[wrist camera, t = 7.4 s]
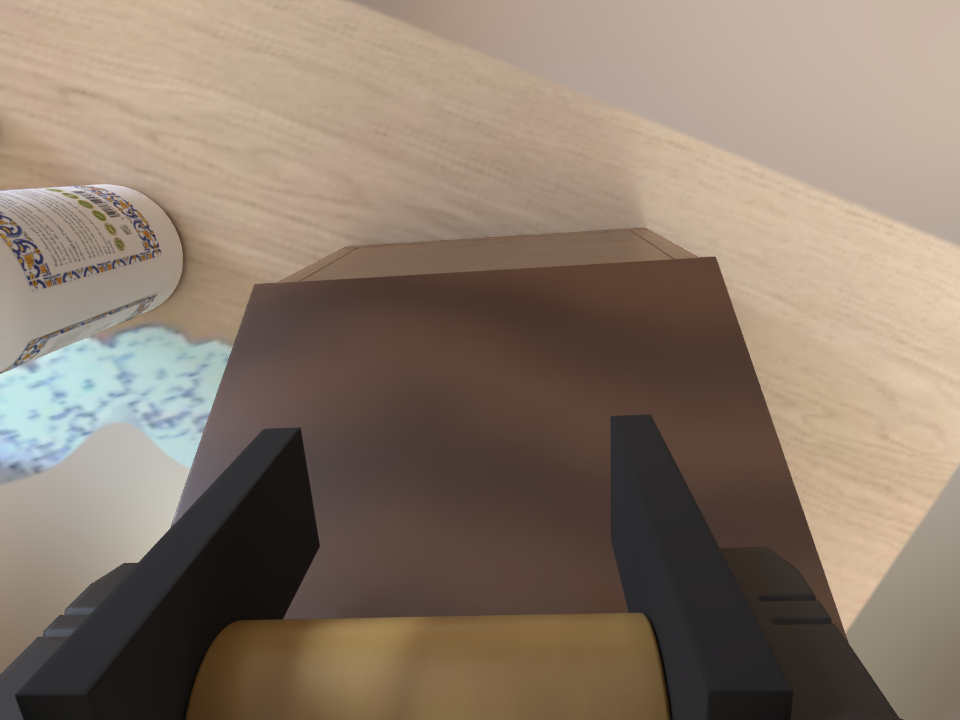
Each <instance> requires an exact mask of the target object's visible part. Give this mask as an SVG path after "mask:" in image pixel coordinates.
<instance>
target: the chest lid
mask: <svg viewBox="0 0 960 720" xmlns="http://www.w3.org/2000/svg"><path fill="white" fill-rule="evenodd" d="M647 414H651V416H652V418H653V420H654V422H655V423H656V425H657V427H658V429H659V431H660V433H661V435H662V437H663V439H664V441H665V443H666V445H667V447H668V449H669V451H670V453H671V455H672V456H673V458H674V460H675V462H676V464H677V466H678V468H679V470H680V472H681V474H682V476H683V478H684V480H685V482H686V484H687V486H688V487H689V489H690V491H691V493H692V495H693V497H694V499H695V501H696V503H697V505H698V507H699V509H700V511H701V513H702V515H703V517H704V518H705V520H706V522H707V524H708V526H709V528H710V530H711V532H712V534H713V536H714V538H715V540H716V542H717V544H718V546H719V548H742V547H769V548H770V549H771V550H773V551H774V552H776V553H777V554H778V555H780V556H781V557H782V558H784V559H785V560H786V561H788V562H789V563H791V564H792V565H793V566H795V567H796V568H797V569H798V570H799V571H800V573H801V574H802V576H803V577H804V579H805V580H806V582H807V583H808V585H809V586H810V588H811V589H812V590H813V592H814V593H815V595H816V600H817V601H820V602H821V604H822V605H823V607H824V608H825V610H826V611H827V613H828V614H829V615H830V617H831V621H832V624H836V626H837V627H838V629H839V630H840V632H841V633H842V635H843V636H844V638H845V639H846V641H847V642H848V640H847V637H846V634H845V631H844V628H843V625H842V623H841V620H840V617H839V614H838V611H837V608H836V605H835V602H834V599H833V596H832V593H831V591H830V588H829V585H828V582H827V579H826V576H825V573H824V570H823V567H822V564H821V561H820V559H819V556H818V553H817V550H816V547H815V544H814V541H813V538H812V535H811V532H810V530H809V527H808V524H807V521H806V518H805V515H804V512H803V509H802V506H801V503H800V500H799V498H798V495H797V492H796V489H795V486H794V483H793V480H792V477H791V474H790V471H789V469H788V466H787V463H786V460H785V457H784V454H783V451H782V448H781V445H780V442H779V439H778V437H777V434H776V431H775V428H774V425H773V422H772V419H771V416H770V413H769V410H768V407H767V405H766V402H765V399H764V396H763V393H762V390H761V387H760V384H759V381H758V378H757V376H756V373H755V370H754V367H753V364H752V361H751V358H750V355H749V352H748V349H747V346H746V344H745V341H744V338H743V335H742V332H741V329H740V326H739V323H738V320H737V317H736V315H735V312H734V309H733V306H732V303H731V300H730V297H729V294H728V291H727V288H726V285H725V283H724V280H723V277H722V274H721V271H720V268H719V265H718V262H717V259H716V257H700V258H683V259H666V260H650V261H633V262H616V263H599V264H583V265H566V266H549V267H533V268H516V269H499V270H483V271H466V272H449V273H433V274H416V275H399V276H383V277H366V278H349V279H333V280H316V281H299V282H283V283H266V284H255V285H254V287H253V290H252V293H251V296H250V299H249V302H248V305H247V307H246V310H245V313H244V316H243V319H242V322H241V325H240V328H239V331H238V334H237V336H236V339H235V342H234V345H233V348H232V351H231V354H230V357H229V360H228V363H227V365H226V368H225V371H224V374H223V377H222V380H221V383H220V386H219V389H218V392H217V394H216V397H215V400H214V403H213V406H212V409H211V412H210V415H209V418H208V420H207V423H206V426H205V429H204V432H203V435H202V438H201V441H200V444H199V447H198V449H197V452H196V455H195V458H194V461H193V464H192V467H191V470H190V473H189V476H188V478H187V481H186V484H185V487H184V490H183V493H182V496H181V499H180V502H179V505H178V507H177V511H176V513H175V516H174V519H173V522H172V525H171V527H172V526H173V525H174V524H175V523H176V522H177V521H178V520H179V519H180V518H181V517H182V516H183V514H184V513H185V512H186V511H187V510H188V509H189V508H190V507H191V506H192V505H193V504H194V503H195V502H196V501H197V499H198V498H199V497H200V496H201V495H202V494H203V493H204V492H205V491H206V490H207V489H208V488H209V487H210V486H211V484H212V483H213V482H214V481H215V480H216V479H217V478H218V477H219V476H220V475H221V474H222V473H223V472H224V471H225V469H226V468H227V467H228V466H229V465H230V464H231V463H232V462H233V461H234V460H235V459H236V458H237V457H238V456H239V455H240V453H241V452H242V451H243V450H244V449H245V448H246V447H247V446H248V445H249V444H250V443H251V442H252V441H253V440H254V438H255V437H256V436H257V435H258V434H259V433H260V432H261V431H262V430H263V429H270V428H297V427H301V432H302V438H303V444H304V451H305V457H306V463H307V469H308V475H309V481H310V487H311V494H312V500H313V506H314V512H315V518H316V524H317V531H318V537H319V543H320V547H319V549H318V551H317V553H316V555H315V557H314V559H313V561H312V563H311V565H310V567H309V569H308V571H307V573H306V575H305V577H304V579H303V581H302V583H301V585H300V587H299V589H298V591H297V593H296V595H295V597H294V598H293V600H292V602H291V604H290V606H289V608H288V610H287V612H286V614H285V616H284V618H283V619H279V620H239V621H236V622H233V623H231V624H229V625H228V626H226V627H225V628H224V629H223V630H222V631H221V632H220V633H219V634H218V635H217V636H216V637H215V639H214V640H213V642H212V643H211V645H210V646H209V648H208V650H207V652H206V654H205V656H204V658H203V660H202V662H201V665H200V667H199V670H198V672H197V675H196V678H195V681H194V684H193V687H192V691H191V694H190V698H189V702H188V707H187V712H186V718H185V720H672V717H671V709H670V702H669V695H668V689H667V683H666V677H665V672H664V667H663V662H662V657H661V653H660V649H659V645H658V641H657V638H656V635H655V632H654V629H653V627H652V624H651V622H650V620H649V618H648V617H647V616H646V615H645V614H643V613H629V612H628V608H627V604H626V600H625V596H624V592H623V588H622V584H621V579H620V575H619V571H618V567H617V563H616V559H615V555H614V551H613V547H612V542H611V423H610V416H620V415H647Z"/></svg>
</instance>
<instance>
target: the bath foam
mask: <svg viewBox="0 0 960 720" xmlns="http://www.w3.org/2000/svg"><path fill="white" fill-rule="evenodd" d="M182 268H183V252H182V246H181V242H180V239H179V236H178V233H177V231H176V229H175V227H174V225H173V223H172V222H171V220H170V219H169V217H168V216H167V215H166V214H165V212H164V211H163V210H162V209H161V208H160V207H159V206H158V205H157V204H156V203H155V202H153V201H152V200H151V199H149V198H148V197H146V196H145V195H143V194H141V193H139V192H137V191H135V190H133V189H130V188H127V187H123V186H119V185H111V184H99V185H77V186H61V187H46V188H30V189H14V190H0V374H1V373H3V372H6V371H8V370H10V369H13V368H15V367H17V366H20V365H22V364H25V363H27V362H29V361H32V360H34V359H37V358H39V357H41V356H44V355H46V354H49V353H51V352H53V351H56V350H58V349H60V348H63V347H65V346H68V345H70V344H72V343H75V342H77V341H80V340H82V339H84V338H87V337H89V336H91V335H94V334H96V333H99V332H101V331H103V330H106V329H108V328H111V327H113V326H115V325H118V324H120V323H123V322H125V321H127V320H130V319H132V318H134V317H136V316H138V315H141V314H143V313H145V312H148V311H150V310H152V309H154V308H156V307H158V306H159V305H161V304H162V303H163V302H165V301H166V300H167V299H168V298H169V297H170V296H171V294H172V293H173V292H174V290H175V289H176V287H177V285H178V283H179V280H180V277H181V274H182Z"/></svg>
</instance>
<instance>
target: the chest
mask: <svg viewBox="0 0 960 720" xmlns="http://www.w3.org/2000/svg"><path fill="white" fill-rule="evenodd" d="M683 258H699V257H697V256H696V255H694V254H692V253H690V252H688V251H686V250H685V249H683V248H681V247H679V246H677V245H676V244H674V243H672V242H670V241H668V240H667V239H665V238H663V237H661V236H659V235H658V234H656V233H654V232H652V231H650V230H648V229H646V228H633V229H617V230H602V231H586V232H570V233H555V234H539V235H523V236H508V237H492V238H476V239H461V240H445V241H429V242H414V243H398V244H382V245H367V246H351V247H344V248H343V249H340V250H339V251H337V252H335V253H333V254H331V255H329V256H327V257H325V258H323V259H321V260H319V261H318V262H316V263H314V264H312V265H310V266H308V267H306V268H304V269H302V270H300V271H298V272H297V273H295V274H293V275H291V276H289V277H287V278H285V279H283V280H281V281H279V282H277V283H283V282H299V281H316V280H333V279H349V278H366V277H383V276H399V275H416V274H433V273H449V272H466V271H483V270H499V269H516V268H533V267H549V266H566V265H583V264H599V263H616V262H633V261H650V260H666V259H683Z"/></svg>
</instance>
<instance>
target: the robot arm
mask: <svg viewBox="0 0 960 720" xmlns="http://www.w3.org/2000/svg"><path fill="white" fill-rule="evenodd" d="M610 423H611V542H612V547H613V551H614V555H615V559H616V563H617V567H618V571H619V575H620V579H621V584H622V588H623V592H624V596H625V600H626V604H627V608H628V612H629V613H643V614H645V615H646V616H647V617H648V618H649V620H650V622H651V624H652V627H653V629H654V632H655V635H656V638H657V641H658V645H659V649H660V653H661V657H662V662H663V667H664V672H665V677H666V683H667V689H668V695H669V702H670V709H671V717H672V720H903V719H900V718H899V717H898V716H897V714H896V713H895V711H894V710H893V708H892V707H891V705H890V704H889V702H888V701H887V699H886V698H885V696H884V695H883V694H882V692H881V691H880V689H879V688H878V686H877V685H876V683H875V682H874V680H873V679H872V677H871V676H870V674H869V673H868V672H867V670H866V668H865V667H864V666H863V664H862V663H861V661H860V660H859V658H858V657H857V655H856V654H855V652H854V651H853V649H852V648H851V646H850V645H849V643H848V642H847V641H846V639H845V638H844V636H843V635H842V633H841V632H840V630H839V629H838V627H837V626H836V624H832V621H831V617H830V615H829V614H828V613H827V611H826V610H825V608H824V607H823V605H822V604H821V602H820V601H817V600H816V595H815V593H814V592H813V590H812V589H811V588H810V586H809V585H808V583H807V582H806V580H805V579H804V577H803V576H802V574H801V573H800V571H799V570H798V569H797V568H796V567H795V566H793V565H792V564H791V563H789V562H788V561H786V560H785V559H784V558H782V557H781V556H780V555H778V554H777V553H776V552H774V551H773V550H771V549H770V548H769V547H742V548H719V546H718V544H717V542H716V540H715V538H714V536H713V534H712V532H711V530H710V528H709V526H708V524H707V522H706V520H705V518H704V517H703V515H702V513H701V511H700V509H699V507H698V505H697V503H696V501H695V499H694V497H693V495H692V493H691V491H690V489H689V487H688V486H687V484H686V482H685V480H684V478H683V476H682V474H681V472H680V470H679V468H678V466H677V464H676V462H675V460H674V458H673V456H672V455H671V453H670V451H669V449H668V447H667V445H666V443H665V441H664V439H663V437H662V435H661V433H660V431H659V429H658V427H657V425H656V423H655V422H654V420H653V418H652V416H651V414H647V415H620V416H610ZM319 547H320V543H319V537H318V531H317V524H316V518H315V512H314V506H313V500H312V494H311V487H310V481H309V475H308V469H307V463H306V457H305V451H304V444H303V438H302V432H301V427H297V428H270V429H263V430H262V431H261V432H260V433H259V434H258V435H257V436H256V437H255V438H254V440H253V441H252V442H251V443H250V444H249V445H248V446H247V447H246V448H245V449H244V450H243V451H242V452H241V453H240V455H239V456H238V457H237V458H236V459H235V460H234V461H233V462H232V463H231V464H230V465H229V466H228V467H227V468H226V469H225V471H224V472H223V473H222V474H221V475H220V476H219V477H218V478H217V479H216V480H215V481H214V482H213V483H212V484H211V486H210V487H209V488H208V489H207V490H206V491H205V492H204V493H203V494H202V495H201V496H200V497H199V498H198V499H197V501H196V502H195V503H194V504H193V505H192V506H191V507H190V508H189V509H188V510H187V511H186V512H185V513H184V514H183V516H182V517H181V518H180V519H179V520H178V521H177V522H176V523H175V524H174V525H173V526H172V527H171V528H170V529H169V531H168V532H167V533H166V534H165V535H164V536H163V537H162V538H161V539H160V540H159V541H158V542H157V544H155V545H154V547H153V548H152V549H151V550H150V551H149V552H148V553H147V554H146V555H145V556H144V557H143V559H142V560H141V561H140V562H139V563H124V564H122V565H120V566H119V567H117V568H116V569H114V570H113V571H111V572H109V573H108V574H107V575H105V576H103V577H101V578H100V579H98V580H97V581H95V582H94V583H92V584H90V585H89V586H88V587H87V588H86V589H85V590H84V591H83V592H82V593H81V594H80V595H79V596H78V598H76V599H75V600H74V601H73V602H72V603H71V604H70V606H68V607H67V608H66V610H65V614H64V615H59V617H57V618H56V619H55V620H54V621H53V622H52V623H51V624H50V626H48V627H47V628H46V629H45V630H44V634H43V636H42V637H37V638H36V640H34V641H33V642H32V643H31V644H30V645H29V646H28V647H27V648H26V649H25V650H24V652H22V653H21V654H20V655H19V656H18V657H17V658H16V659H15V661H14V662H12V664H10V665H9V666H8V667H7V669H5V670H4V671H3V672H2V673H1V674H0V720H185V718H186V712H187V707H188V702H189V698H190V694H191V691H192V687H193V684H194V681H195V678H196V675H197V672H198V670H199V667H200V665H201V662H202V660H203V658H204V656H205V654H206V652H207V650H208V648H209V646H210V645H211V643H212V642H213V640H214V639H215V637H216V636H217V635H218V634H219V633H220V632H221V631H222V630H223V629H224V628H225V627H226V626H228V625H229V624H231V623H233V622H236V621H239V620H279V619H283V618H284V616H285V614H286V612H287V610H288V608H289V606H290V604H291V602H292V600H293V598H294V597H295V595H296V593H297V591H298V589H299V587H300V585H301V583H302V581H303V579H304V577H305V575H306V573H307V571H308V569H309V567H310V565H311V563H312V561H313V559H314V557H315V555H316V553H317V551H318V549H319Z"/></svg>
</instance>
